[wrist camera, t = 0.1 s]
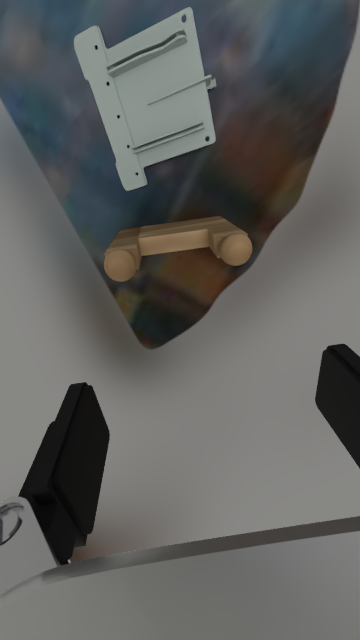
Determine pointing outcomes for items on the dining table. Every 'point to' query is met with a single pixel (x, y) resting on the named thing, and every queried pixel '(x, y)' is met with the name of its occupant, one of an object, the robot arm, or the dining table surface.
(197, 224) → the headboard
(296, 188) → the dining table surface
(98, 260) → the dining table surface
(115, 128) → the metal bracket
